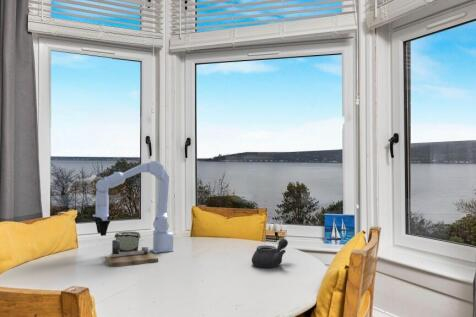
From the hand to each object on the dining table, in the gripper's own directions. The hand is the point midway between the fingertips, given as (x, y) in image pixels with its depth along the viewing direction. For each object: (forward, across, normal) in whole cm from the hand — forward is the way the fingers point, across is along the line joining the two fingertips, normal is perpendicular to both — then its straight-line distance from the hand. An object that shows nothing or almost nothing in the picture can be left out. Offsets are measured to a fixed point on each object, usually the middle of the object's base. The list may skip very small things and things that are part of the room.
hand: (101, 234), depth 180 cm
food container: (+10, +4, +12) cm, 16 cm away
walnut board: (+9, +19, +9) cm, 23 cm away
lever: (+8, +14, +10) cm, 19 cm away
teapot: (+10, +52, +61) cm, 81 cm away
